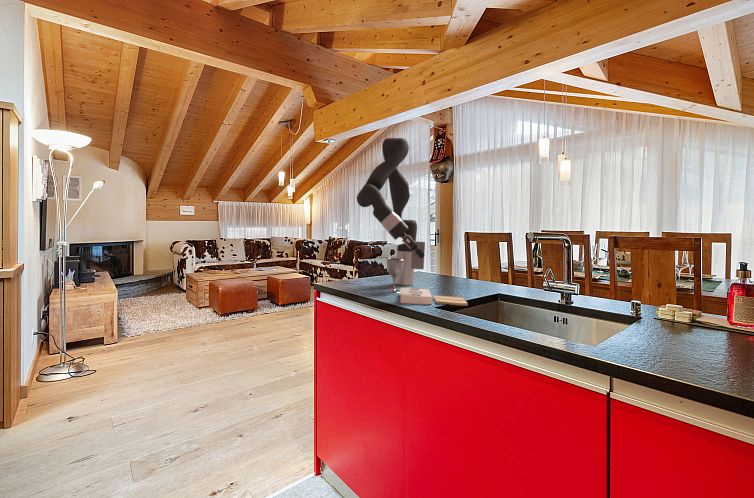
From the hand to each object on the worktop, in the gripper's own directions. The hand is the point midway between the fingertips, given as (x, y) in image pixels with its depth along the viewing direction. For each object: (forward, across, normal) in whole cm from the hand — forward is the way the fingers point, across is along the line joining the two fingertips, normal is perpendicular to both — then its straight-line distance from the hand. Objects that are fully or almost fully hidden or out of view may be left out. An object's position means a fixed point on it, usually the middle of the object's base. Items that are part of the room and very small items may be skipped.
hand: (422, 256), depth 152 cm
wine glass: (+5, +16, +21) cm, 27 cm away
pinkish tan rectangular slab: (+11, 0, +14) cm, 18 cm away
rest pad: (+21, -1, +4) cm, 21 cm away
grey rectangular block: (+2, 0, +5) cm, 5 cm away
